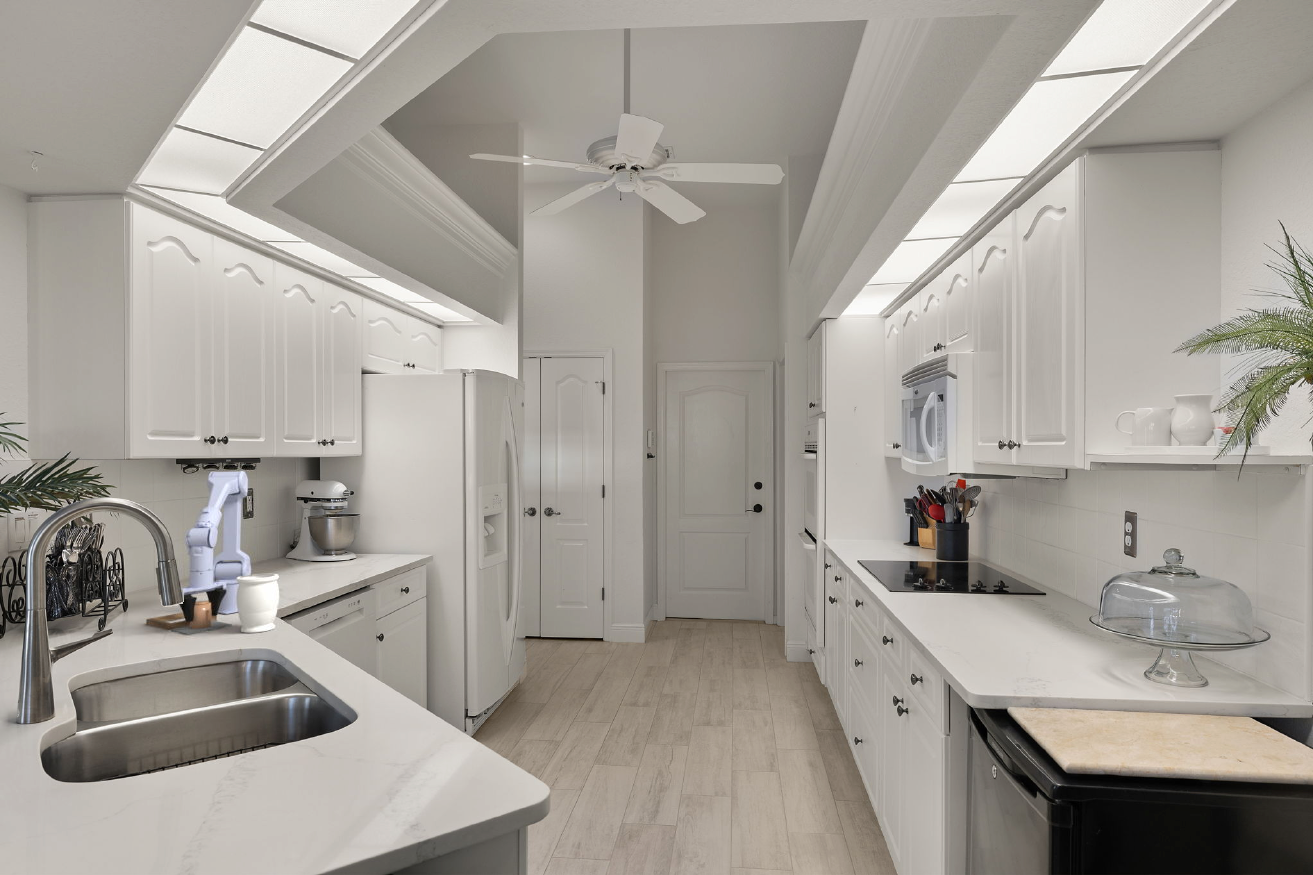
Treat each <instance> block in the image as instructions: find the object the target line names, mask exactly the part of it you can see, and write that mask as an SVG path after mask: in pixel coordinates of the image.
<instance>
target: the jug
mask: <svg viewBox="0 0 1313 875" xmlns="http://www.w3.org/2000/svg"><path fill="white" fill-rule="evenodd" d="M211 618H212V610H211V602H209V601H208V600H199V601H198V600H196V602H195V607H194V619H193V621H192V622H190V629H202V628H207V627H210V626H211Z"/></svg>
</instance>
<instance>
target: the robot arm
mask: <svg viewBox="0 0 1313 875" xmlns="http://www.w3.org/2000/svg"><path fill="white" fill-rule="evenodd" d="M206 483H207V484H206V486H207V489H208V491H209V496H208V499H207V504H206V506H205V507H203V508H202V509H201V510H200V511H199V513H198V516H197V518H196V521H195V524H194V525H193V527H192V528H190V529H189V530H188V531H187V532H186V535H185V545H186V548H187V555H189V585H188V586H187V587H183V588H181V589H182V590H183V596H184V602H183V604H178V605H179V607H180V609H181V611H182V613H183V614H184V617H185V618H184V620H185V621H186V622H192V621H193V619H194V607H195V602H197V599H198V597H196V596H193V595H196V594H201V593H206V596H207V599H208V600H207V601H209V602H211V610H212V616H217V617H218V614H224V615H228V614H233V613H238V608H237V589H238V586H239V583H238V582H237V577H240V576H245V575H252V574H251V573H252V566H251V564H252V563H251V558H250V556H249V555H248V554H247V553H246V552H244V551H243V550H241V534H242V533H241V528H242V527H241V526H242V523H241V522H242V502H243V501H242V500H243V498H246V497H247V496H248V490H249V479H248V475H247V473H246V471H245V470H240V471H238V470H237V471H215V470H214V471H210V472H209V473H208V475H207V479H206ZM222 506H223V514H222V512H221V509H222ZM222 517H223V519H222ZM221 520H223V522H222V523H223V524H222V526H223V527H222V552H220V553H218V554H217V555H216V556H215V557H214V548H215V547H216V545H217V543H218V542H217V541H218V533H219V531H218V528H219V525H220V522H221Z"/></svg>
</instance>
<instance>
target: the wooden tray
mask: <svg viewBox="0 0 1313 875" xmlns="http://www.w3.org/2000/svg"><path fill="white" fill-rule="evenodd" d="M217 617H218V615H217V616H212V618H211V622H212V621H218V619H217ZM182 619H183V620H182ZM177 620H178V621H177ZM179 620H180V621H179ZM145 621H146V622H145V623H146V624H145V625H147V626H151V627H154V628H160V629H163V630H168V631H171V629H176V628H181V627H186V626H190V622H186V621H185V617H184V614H183V612H178V613H172V614H165V615H162V616H155V617H150V618H146V619H145ZM172 621H174V622H172Z"/></svg>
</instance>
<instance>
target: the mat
mask: <svg viewBox="0 0 1313 875" xmlns="http://www.w3.org/2000/svg"><path fill="white" fill-rule="evenodd" d="M232 624H233V623H232ZM232 624H231V623H227V622H222V621H218V620H217V621H212V622H211V626H210V627H207V628H202V629H190V626H186V627H181V628H176V629H171V630H170V631H171V632H174V633H178V634H180V635H181V634H182V635H186V636H188V635H189V636H190V635H193V634H199V633H204V632H207V631H208V632H209V631H213V630H218V629H223V628H227V627H232V626H233V625H232Z"/></svg>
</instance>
